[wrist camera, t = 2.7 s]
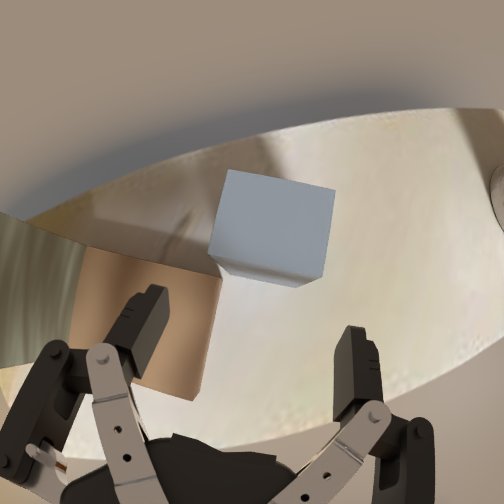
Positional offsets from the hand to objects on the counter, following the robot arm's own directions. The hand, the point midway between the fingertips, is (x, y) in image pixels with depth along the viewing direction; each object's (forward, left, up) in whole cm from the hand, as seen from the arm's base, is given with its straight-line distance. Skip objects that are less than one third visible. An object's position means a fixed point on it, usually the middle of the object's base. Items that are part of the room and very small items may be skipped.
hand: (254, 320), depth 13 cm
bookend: (+9, +3, -9) cm, 13 cm away
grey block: (0, -4, -9) cm, 10 cm away
